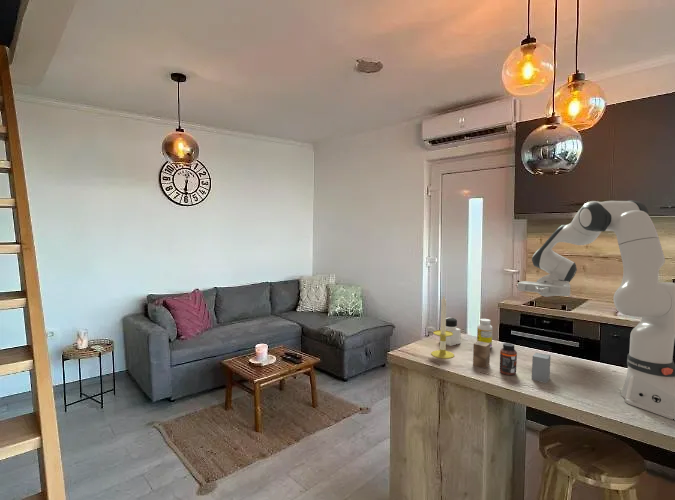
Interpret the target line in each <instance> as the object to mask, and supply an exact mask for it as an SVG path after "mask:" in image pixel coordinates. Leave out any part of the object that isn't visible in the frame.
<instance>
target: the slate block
mask: <svg viewBox="0 0 675 500" xmlns="http://www.w3.org/2000/svg"><path fill="white" fill-rule="evenodd" d="M551 356H552V355H550V354H547V353H546V354H545V353H540V352H535V353H534V354H533V355H532V362H531V363H532V364H531V366H532V367H531V368H532V369H531V380H533V381H535V382H540V383H541V382H542V383H545V384H547V383H548V382H549V381H550V380H551V379H550V377H551V376H550V374H551V358H552V357H551Z"/></svg>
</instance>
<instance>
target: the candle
mask: <svg viewBox="0 0 675 500" xmlns="http://www.w3.org/2000/svg"><path fill="white" fill-rule="evenodd" d="M440 301H441V304H440V305H441V307H440V328H441V330H440V329H439V330H437V329H436V330H433V332H432V333H433V335H434V336H438V337H439V349H436V350H432V351H430V355H431V356H432V357H435V358H437V359H443V360H444V359H445V360H446V359H447V360H449V359H453V358H455V354H454V353H453V352H451V351H450V350H447V349H446V348H447V345H446V337H448V336H452V335H453V333H452V332H450V331H446V318H447V299H446V297H445V295H443V296H442V299H441V300H440Z"/></svg>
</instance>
